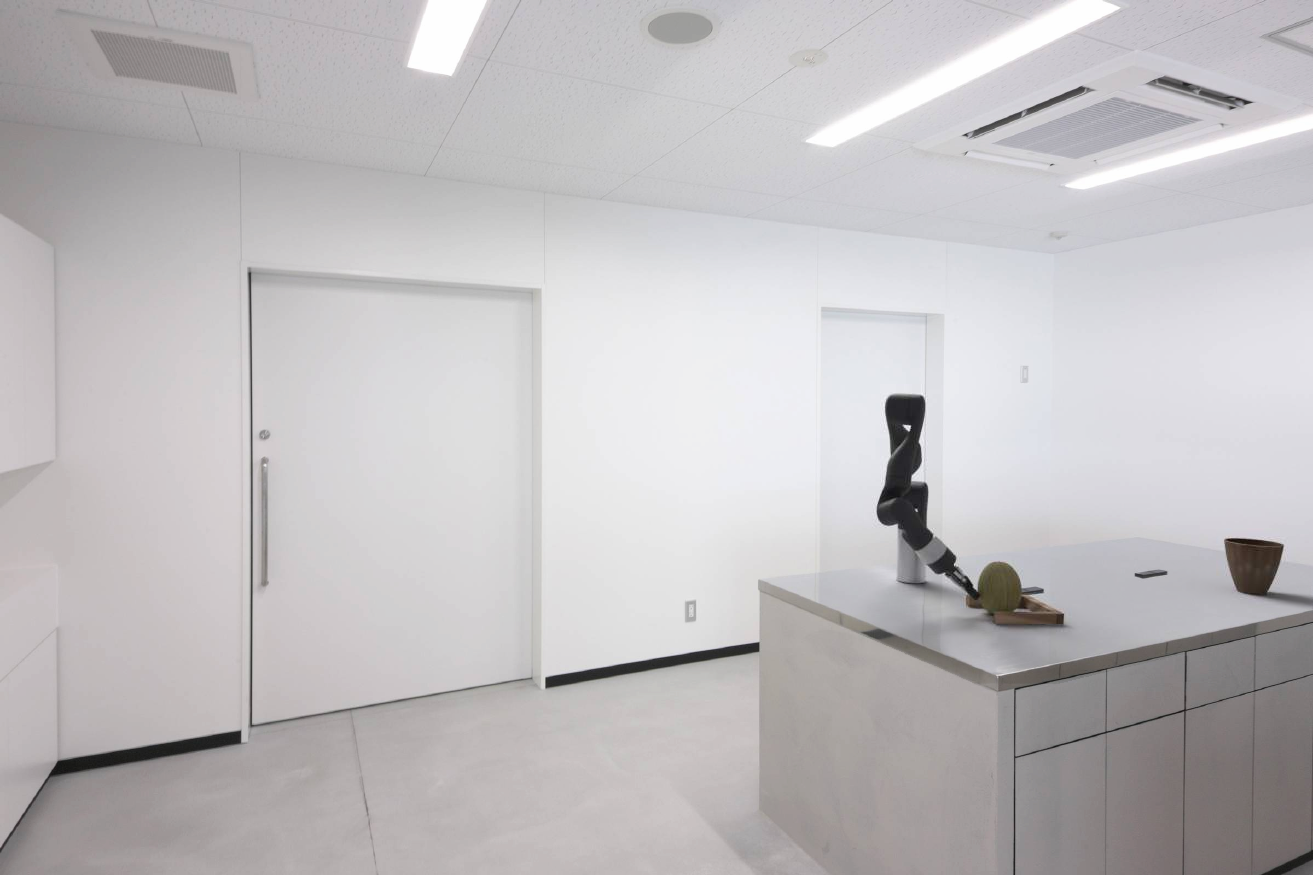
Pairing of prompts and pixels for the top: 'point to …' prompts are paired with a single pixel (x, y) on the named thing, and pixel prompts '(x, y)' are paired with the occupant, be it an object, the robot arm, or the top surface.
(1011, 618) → the walnut bay
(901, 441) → the robot arm
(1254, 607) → the top surface
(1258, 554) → the plant pot
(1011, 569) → the fruit
